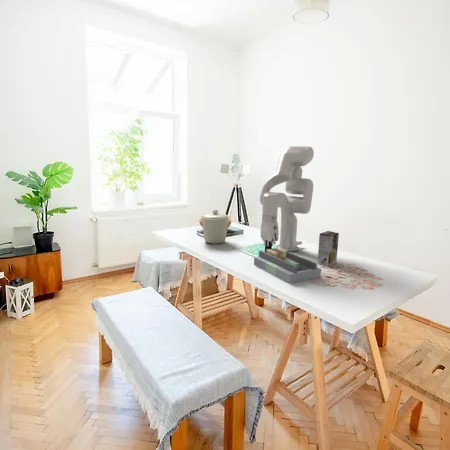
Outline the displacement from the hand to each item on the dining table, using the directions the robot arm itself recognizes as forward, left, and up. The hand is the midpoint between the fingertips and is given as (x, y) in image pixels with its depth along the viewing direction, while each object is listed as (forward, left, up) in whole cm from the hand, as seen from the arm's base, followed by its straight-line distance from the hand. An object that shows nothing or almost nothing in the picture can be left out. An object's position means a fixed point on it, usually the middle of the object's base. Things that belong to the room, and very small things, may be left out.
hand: (268, 253), depth 167 cm
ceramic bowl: (-8, -78, -5) cm, 79 cm away
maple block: (0, +7, -1) cm, 7 cm away
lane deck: (0, +15, -5) cm, 15 cm away
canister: (+7, -48, -5) cm, 49 cm away
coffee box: (-27, +15, -5) cm, 31 cm away
